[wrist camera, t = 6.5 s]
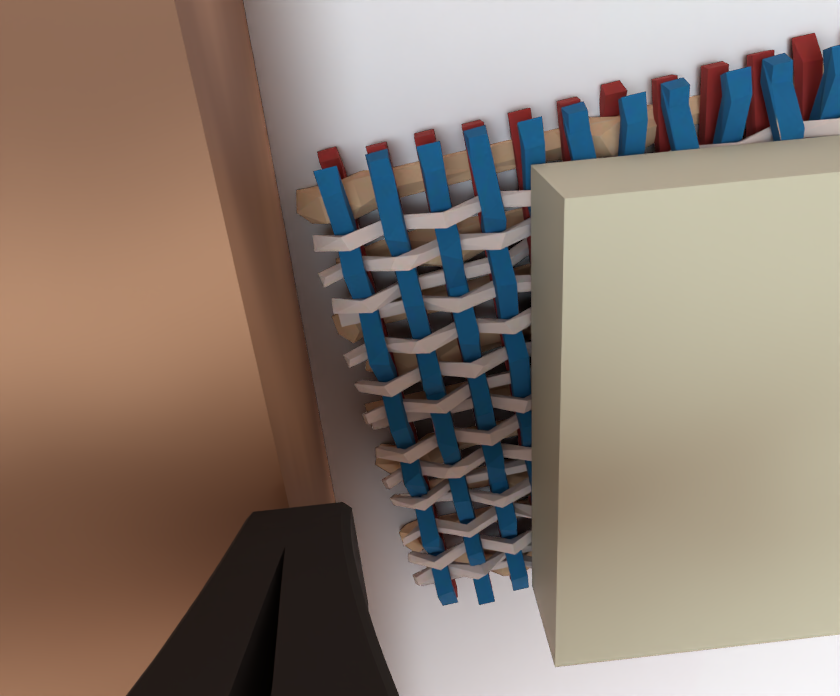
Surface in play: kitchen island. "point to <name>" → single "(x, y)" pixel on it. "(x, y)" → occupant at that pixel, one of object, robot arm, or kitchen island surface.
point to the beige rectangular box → (686, 399)
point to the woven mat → (505, 284)
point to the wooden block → (136, 331)
